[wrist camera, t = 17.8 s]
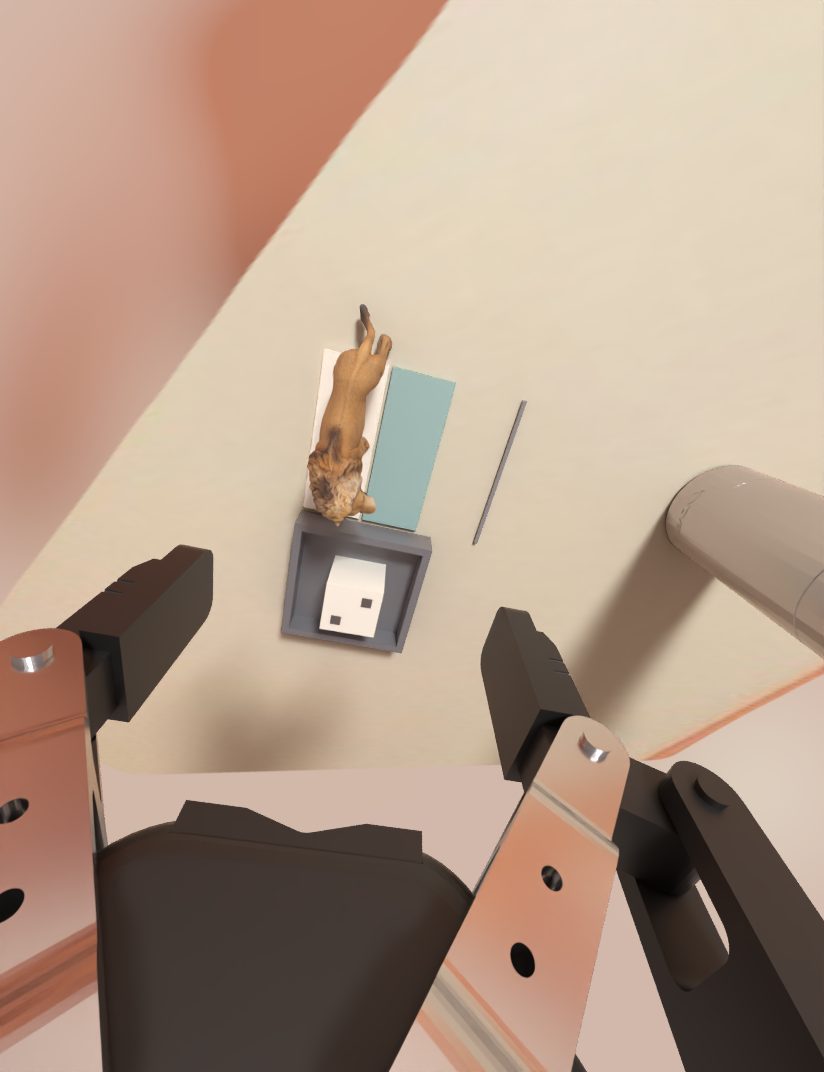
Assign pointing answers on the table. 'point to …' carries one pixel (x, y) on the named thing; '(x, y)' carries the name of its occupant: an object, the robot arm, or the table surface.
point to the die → (353, 596)
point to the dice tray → (364, 542)
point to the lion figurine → (347, 430)
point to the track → (400, 441)
